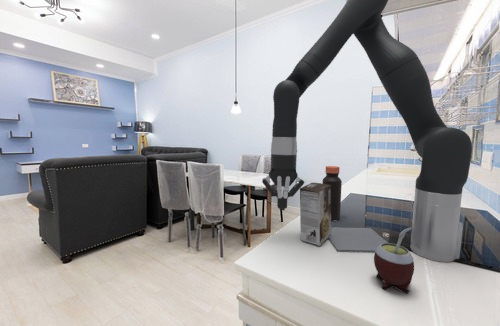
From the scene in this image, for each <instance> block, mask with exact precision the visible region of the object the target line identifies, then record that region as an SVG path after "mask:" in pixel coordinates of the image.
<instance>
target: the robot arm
mask: <svg viewBox="0 0 500 326" xmlns="http://www.w3.org/2000/svg"><path fill="white" fill-rule="evenodd" d="M388 2H389V0H347V1H346V2H345V4H344V6H343V7H342V8H341V10H340V11H339V13H338V14H337V15H336V17H335V18H334V19H333V21H332V22H331V23H330V25H329V26H328V27H327V28H326V30H325V31H324V32H323V33H322V35H321V36H320V37H319V38H318V40H317V41H316V42H315V43H314V44H313V45H312V46H311V47H310V49H309V50H308V51H307V52H306V53H305V54H304V55H303V56H302V58H301V59H300V60H299V61H298V63H297V64H296V65H295V66H294V68H293V69H292V72H291V73H290V74H289V76H287V77H286V78H285V80H282V81H280V82H279V83H277V85H276V86H275V88H274V91H273V95H272V98H273V120H272V131H271V132H272V134H271V136H272V137H271V145H270V171H269V172H268V175H267V176H266V177H264V178H263V177H262V179H261V182H262V184H263V185H264V186H265V188H266V189H267V190H268V192H269V193H270V195H271V196H273V197H276V199H277V200H276V201H277V203H276V205H277V208H278V209H279V211H285V210H286V209H287V207H288V198H291V197H294V196H295V195H296V193H298V191H300V188H302V187H303V185H304V184H305V181H304V180H303V179H302V178H300V177H299V175H298V172H297V159H298V158H297V157H298V156H297V154H298V143H297V142H298V141H297V133H298V132H297V129H298V123H297V121H298V113H299V104H300V98H301V97H302V96H303V94H305V92H306V91H307V90H308V88H309V87H310V86H311V85H312V84H314V83H315V82H316V81H317V80H318V79H319V78H320V76H322V74H323V73H324V72H325V71H326V70H327V69H328V67H329V66H330V65H331V63H332V62H333V61H334V59H335V58H337V55H338V54H339V53H340V52H341V50H342V48H343V47H344V46H345V44H346V43H347V42H348V41H349V39H350V38H351V37H352V36H354V37H355V38H356V39H357V41H358V42H359V44H360V45H361V47H362V49H363V50H364V52H365V53H366V55H367V57H368V59H369V62H370V63H371V65H372V66H373V69H374V70H375V72H376V75H377V76H378V78H379V80H380V83H381V84H382V86H383V88H384V90H385V92H386V93H387V95H388V97H389V99H390V100H391V102H392V104H393V105H394V107H395V109H396V111H398V113H399V114H400V116H401V118H402V119H403V121H404V123H405V125H406V128H407V129H408V133H409V135H410V137H411V140H412V143H413V145H414V148H415V151H416V153H417V154H418V156H420V158H421V165H420V172H419V174H418V176H417V178H416V180H415V188H414V198H413V199H414V201H413V210H412V211H413V213H412V223H411V224H412V225H411V227H413V229H411V233H410V234H411V235H410V245H409V247H410V250H411V251H412V252H414V253H415V254H416V255H419V257H422V258H425V259H428V260H433V261H437V262H440V263H441V262H442V263H443V262H444V263H449V262H450V263H451V262H453V261H455V260H459V259H460V255H461V247H462V245H461V243H462V236H463V230H464V229H463V227H464V223H463V222H462V221H460V217H461V209H462V207H461V205H462V198H463V197H462V196H463V189H464V186H465V185H466V183H467V181H468V178H469V172H470V167H471V161H472V160H471V159H472V154H473V144H472V139H471V137H470V136H469V134H468V133H466V132H465V131H464V130H462V129H460V128H456V127H450V126H449V127H447V125H446V124H445V122H444V120H443V119H442V118H441V117H440V115H439V113H438V110H436V106H435V104H434V99H433V93H432V87H431V83H430V79H429V76H428V73H427V71H426V68H425V67H424V65H423V64H422V62H421V59H420V58H419V57H418V55H417V53H416V52H415V50H413V49H412V48H410V47H409V46H408V45H406V44H405V43H403V42H401V41H400V40H398V39H396V38H394V36H392V35H391V33H390V32H389V30H388V28H387V27H386V25H385V22H384V20H383V17H382V14H383V11H384V10H385V8H386V6H387V4H388ZM271 181H272V183H273V184H274V185H275V186H276V190H275V189H274V188H273V187H272V185H271ZM293 183H295V184H294V185H293ZM292 185H293V186H292ZM291 186H292V187H291ZM290 187H291V189H290Z"/></svg>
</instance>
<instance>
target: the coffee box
mask: <svg viewBox="0 0 500 326" xmlns="http://www.w3.org/2000/svg"><path fill="white" fill-rule="evenodd" d="M299 204H300V205H299V211H300V212H299V213H300V214H299V215H300V219H299V220H300V221H299V222H300V227H299V228H300V240H301V241H303V242H306V243H309V244H312V245H315V246H321V245H322V244H323V243H325V242H326V240H327V239H329V238H328V237H329V236H330V235H331V227H332V221H331V185H327V184H323V183H321V182H320V183H319V182H311V183H308V184H306V185H304V186H301V188H300V189H299Z"/></svg>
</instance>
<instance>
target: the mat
mask: <svg viewBox="0 0 500 326" xmlns="http://www.w3.org/2000/svg"><path fill="white" fill-rule="evenodd" d="M327 239H328V240H329V242H330V243H331V245H332V246H333V247H334V249H335V251H336V252H337V253H338V252H339V253H371V254H373V253H374V254H375V251H376V248H377V247H378V246H379V245H381V244H383V243H389V242H388V241H387V240H385V238H383V237H382V236H381V235H380V234H378V233H377V232H376V231H375V230H374V229H373V228H370V227H334V226H333V227H332V226H331V235H330V236H329V237H328V238H327Z"/></svg>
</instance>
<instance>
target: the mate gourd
mask: <svg viewBox="0 0 500 326" xmlns="http://www.w3.org/2000/svg"><path fill="white" fill-rule="evenodd" d="M412 229H413V227H412V226H411V227H408V228H405V229H403V230H402V231H401V232H399V235H398V240H397V243H391V242H388V243H383V244H381V245H379V246H378V247H377V248H376V251H375V253H374V256H373V264H374V267H375V270H376V272H377V273H376V278H377V279H379V280H380V281H383V285H382V286H381V289H382V290H384V291H388V290H389V289H391V288H392V287H393V288H395V289H397V290H398V291H401V292H402V293H405V294H407V295H408V294H409V292H410V290H409V287H410V285H411V283H412V281H413V280H412V279H413V275H414V273H415V262H414V261H415V260H414V256H413V255H412V252H410V251H409V249H408V248H406V247H405V246H402V245H401V244H402V241H403V239H404V237H405V235H406V233H407V232H409V231H412Z"/></svg>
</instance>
